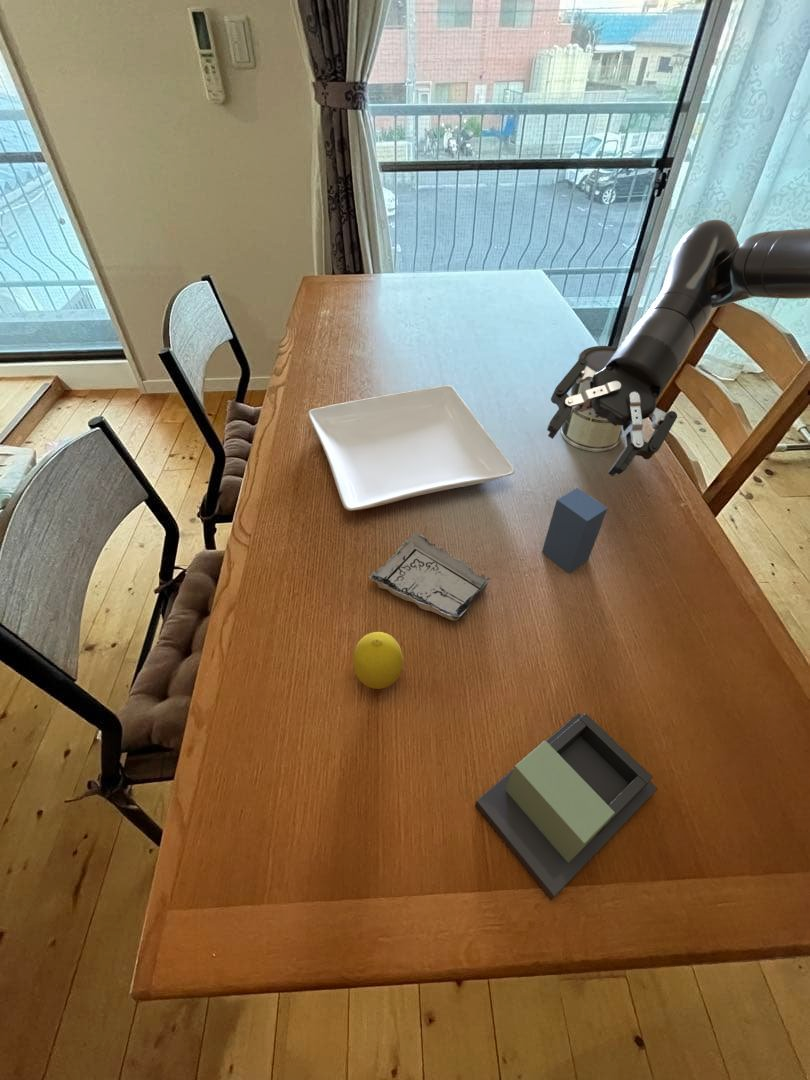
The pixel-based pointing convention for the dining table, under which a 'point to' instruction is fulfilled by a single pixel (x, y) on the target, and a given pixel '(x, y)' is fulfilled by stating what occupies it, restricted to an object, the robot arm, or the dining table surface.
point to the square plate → (405, 446)
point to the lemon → (377, 660)
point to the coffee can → (591, 411)
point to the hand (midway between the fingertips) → (581, 453)
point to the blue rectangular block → (573, 529)
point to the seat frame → (566, 801)
